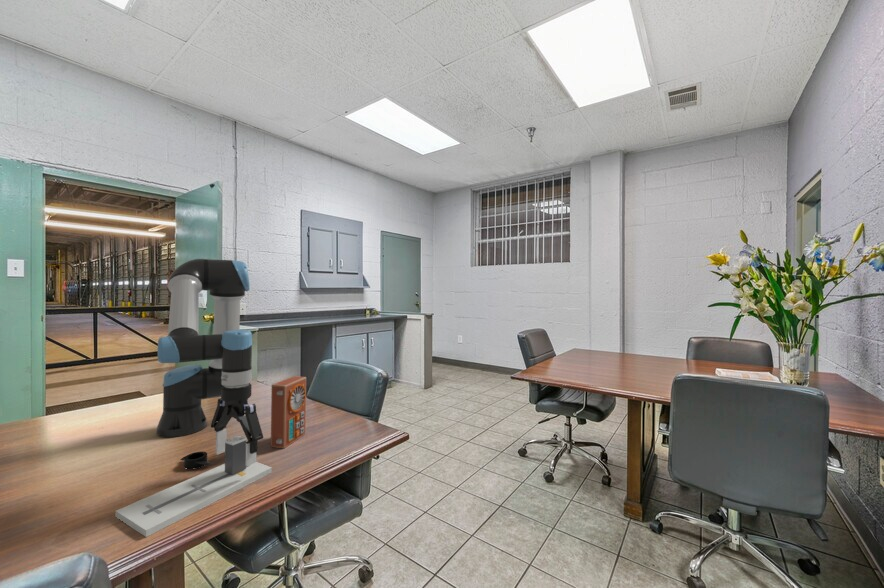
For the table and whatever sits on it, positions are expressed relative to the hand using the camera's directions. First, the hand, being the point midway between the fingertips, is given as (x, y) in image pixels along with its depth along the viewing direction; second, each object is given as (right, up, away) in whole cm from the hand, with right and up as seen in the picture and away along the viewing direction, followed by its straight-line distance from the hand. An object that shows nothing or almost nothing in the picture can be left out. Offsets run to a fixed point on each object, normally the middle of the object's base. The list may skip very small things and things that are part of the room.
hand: (235, 458), depth 102 cm
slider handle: (0, -4, 0) cm, 4 cm away
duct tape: (-16, -5, +6) cm, 18 cm away
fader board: (-4, -5, -8) cm, 10 cm away
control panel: (+5, -5, +25) cm, 26 cm away
